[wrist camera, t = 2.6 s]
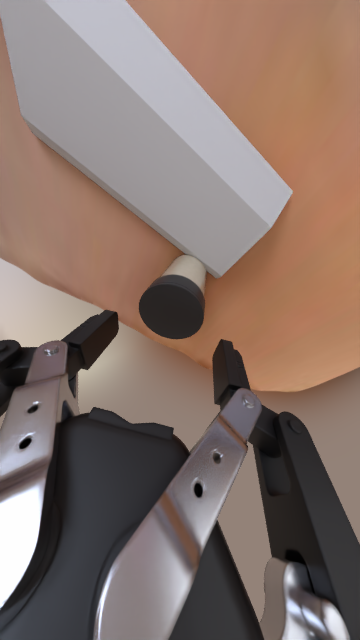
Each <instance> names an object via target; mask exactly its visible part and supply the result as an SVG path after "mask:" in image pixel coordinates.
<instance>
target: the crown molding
mask: <svg viewBox="0 0 360 640" xmlns="http://www.w3.org/2000/svg"><path fill="white" fill-rule="evenodd" d="M0 15H1V20H2V25H3V30H4V35H5V40H6V44H7V49H8V54H9V59H10V64H11V68H12V73H13V78H14V83H15V88H16V93H17V97H18V102H19V107H20V112H21V116H22V117H23V119H24V121H25V122H26V124H27V125H28V127H29V128H30V130H31V132H32V133H33V134H34V135H35V136H37V137H38V138H39V139H41V140H42V141H43V142H44V143H46V144H47V145H48V146H49V147H51V148H52V149H53V150H54V151H56V152H57V153H58V154H60V155H61V156H62V157H63V158H65V159H66V160H67V161H68V162H70V163H71V164H72V165H73V166H75V167H76V168H77V169H79V170H80V171H81V172H82V173H84V174H85V175H86V176H87V177H89V178H90V179H91V180H92V181H94V182H95V183H96V184H97V185H99V186H100V187H101V188H103V189H104V190H105V191H106V192H108V193H109V194H110V195H111V196H113V197H114V198H115V199H116V200H118V201H119V202H120V203H122V204H123V205H124V206H125V207H127V208H128V209H129V210H130V211H132V212H133V213H134V214H135V215H137V216H138V217H139V218H141V219H142V220H143V221H144V222H146V223H147V224H148V225H149V226H151V227H152V228H153V229H154V230H156V231H157V232H158V233H160V234H161V235H162V236H163V237H165V238H166V239H167V240H168V241H170V242H171V243H172V244H173V245H175V246H176V247H177V248H179V249H180V250H181V251H182V252H184V253H185V254H186V255H191V256H193V257H195V258H197V259H198V260H199V261H201V262H202V263H203V265H204V266H205V268H206V271H208V272H209V273H210V274H211V275H213V276H214V277H215V278H219V277H221V276H222V275H223V274H224V273H225V272H226V271H227V270H228V269H229V268H230V267H232V266H233V265H234V264H235V263H236V262H237V261H238V260H239V259H240V258H241V257H242V256H243V255H244V254H245V253H246V252H247V251H248V250H249V249H250V248H251V247H252V246H253V245H254V244H255V243H256V242H257V241H258V240H259V239H260V238H261V237H262V236H263V235H264V234H265V233H266V232H268V231H269V230H270V229H271V227H272V226H273V224H274V223H275V221H276V219H277V218H278V216H279V214H280V213H281V211H282V209H283V208H284V206H285V204H286V203H287V201H288V200H289V198H290V196H291V195H292V193H293V191H292V190H291V189H290V188H289V186H288V185H287V184H286V183H285V182H284V181H283V180H282V178H281V177H280V176H279V175H278V174H277V173H276V172H275V170H274V169H273V168H272V167H271V166H270V165H269V164H268V162H267V161H266V160H265V159H264V158H263V157H262V156H261V155H260V153H259V152H258V151H257V150H256V149H255V148H254V147H253V145H252V144H251V143H250V142H249V141H248V140H247V139H246V137H245V136H244V135H243V134H242V133H241V132H240V131H239V129H238V128H237V127H236V126H235V125H234V124H233V123H232V122H231V120H230V119H229V118H228V117H227V116H226V115H225V114H224V112H223V111H222V110H221V109H220V108H219V107H218V106H217V104H216V103H215V102H214V101H213V100H212V99H211V98H210V97H209V95H208V94H207V93H206V92H205V91H204V90H203V89H202V87H201V86H200V85H199V84H198V83H197V82H196V81H195V79H194V78H193V77H192V76H191V75H190V74H189V73H188V71H187V70H186V69H185V68H184V67H183V66H182V65H181V64H180V62H179V61H178V60H177V59H176V58H175V57H174V56H173V54H172V53H171V52H170V51H169V50H168V49H167V48H166V46H165V45H164V44H163V43H162V42H161V41H160V40H159V38H158V37H157V36H156V35H155V34H154V33H153V32H152V31H151V29H150V28H149V27H148V26H147V25H146V24H145V23H144V21H143V20H142V19H141V18H140V17H139V16H138V15H137V13H136V12H135V11H134V10H133V9H132V8H131V7H130V5H129V4H128V3H127V2H126V1H125V0H0Z"/></svg>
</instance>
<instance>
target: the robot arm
mask: <svg viewBox="0 0 360 640" xmlns="http://www.w3.org/2000/svg"><path fill="white" fill-rule="evenodd" d="M118 329H119V325H118V314H117V312H114V311H110V310H105V311H103V312H102V313H101V314H100V315H98V314H97V315H95V316H92V317H90V318H89V319H87V320H86V321H85V322H84V323H82V324H81V325H80V326H79V327H77V328H76V329H75V330H73V331H72V332H71V333H70V334H68V335H67V336H66V337H65V338H63V339H62V340H61V341H59V340H58V341H51V342H47V343H44V344H42V345H41V346H39V347H21V346H20V344H19V343H18V342H17V341H15V340H2V341H0V416H1V415H3V413H4V412H6V411H7V412H6V415H5V418H4V420H3V424H2V426H1V429H0V640H360V544H359V542H358V540H357V538H356V536H355V533H354V531H353V529H352V527H351V524H350V522H349V520H348V518H347V516H346V514H345V511H344V509H343V507H342V504H341V502H340V500H339V498H338V496H337V494H336V491H335V489H334V487H333V485H332V482H331V480H330V478H329V476H328V474H327V471H326V469H325V467H324V465H323V463H322V461H321V458H320V456H319V454H318V452H317V450H316V447H315V445H314V443H313V441H312V438H311V436H310V434H309V432H308V430H307V428H306V427H305V425H304V424H303V423H302V422H301V421H300V420H299V419H298V418H297V417H296V416H294V415H293V414H291V413H289V412H281V413H280V414H277V413H275V412H273V411H272V410H270V409H268V408H266V407H265V406H263V405H262V404H261V402H260V400H259V398H258V397H257V396H256V395H255V394H254V393H253V392H252V391H251V389H250V386H249V382H248V378H247V375H246V371H245V367H244V364H243V360H242V356H241V355H240V353H239V352H238V351H237V350H234V348H233V344H232V342H231V341H227V340H223V339H221V340H220V342H219V344H218V346H217V348H216V350H215V352H214V354H213V360H212V361H213V382H214V402H215V404H217V405H220V409H221V411H220V412H219V413H218V415H217V416H216V418H215V419H214V420H213V421H212V423H211V424H210V425H209V427H208V428H207V429H206V431H205V432H204V433H203V435H202V436H201V437H200V439H199V440H198V441H197V442H196V444H195V445H194V446H193V448H192V449H191V451H190V452H189V450H188V449H187V447H186V446H185V444H184V443H183V442H182V441H181V440H180V439H179V438H178V437H177V436H175V435H174V434H173V430H174V428H172V427H168V426H165V425H160V424H157V423H138V424H132V423H129V422H128V421H126V420H125V419H123V418H122V417H120V416H119V415H117V414H116V413H114V412H112V411H108V410H104V409H100V408H96V407H93V409H92V410H91V412H90V413H84V414H80V413H79V407H78V371H79V370H80V369H81V368H82V369H85V370H88V369H89V368H90V367H91V366H92V364H93V363H94V362H95V361H96V360H97V358H98V357H99V356H100V355H101V354H102V352H103V351H104V350H105V349H106V347H107V346H108V345H109V344H110V343H111V341H112V340H113V339H114V337H115V336H116V335H117V333H118ZM247 441H248V442H250V443H251V444H253V448H254V454H255V460H256V466H257V472H258V478H259V484H260V489H261V495H262V501H263V507H264V513H265V519H266V525H267V531H268V536H269V543H270V548H271V554H272V558H271V559H270V560H269V561H268V562H267V565H266V568H265V574H264V591H265V608H264V613H263V617H262V619H261V621H260V623H259V622H258V619H257V617H256V614H255V611H254V609H253V606H252V604H251V601H250V599H249V597H248V594H247V592H246V589H245V587H244V584H243V582H242V580H241V577H240V574H239V572H238V570H237V567H236V564H235V562H234V559H233V557H232V555H231V552H230V550H229V547H228V545H227V542H226V540H225V537H224V535H223V532H222V530H221V527H220V525H219V522H218V520H217V518H218V516H219V514H220V511H221V509H222V507H223V505H224V503H225V500H226V498H227V496H228V494H229V491H230V489H231V487H232V485H233V483H234V480H235V478H236V476H237V474H238V471H239V469H240V467H241V465H242V462H243V460H244V458H245V456H246V453H247V450H248V446H247Z"/></svg>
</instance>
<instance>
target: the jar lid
mask: <svg viewBox="0 0 360 640" xmlns="http://www.w3.org/2000/svg"><path fill="white" fill-rule="evenodd" d="M204 309H205V299H204V295H203V293H202V291H201V289H200V288H199V287H198V286H197V284H196V283H194V282H193V281H192V280H190V279H188V278H186V277H184V276H181V275H174V274H171V275H165V276H162V277H160V278H158V279H156V280H155V281H154V282H153V283H152V284H151V285H150V287H149V288H148V289H147V290H146V291H145V292H144V293H143V295H142V297H141V299H140V302H139V312H140V315H141V318H142V320H143V321H144V323H145V324H146V325H147V327H148V328H150V329H151V330H152V331H153V332H155V333H156V334H158V335H160V336H163V337H166V338H170V339H183V338H187V337H190V336H192V335H194V334H195V333H196V332H197V331H198V330H199V329H200V327H201V326H202V323H203V319H204Z"/></svg>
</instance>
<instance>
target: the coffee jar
mask: <svg viewBox="0 0 360 640" xmlns="http://www.w3.org/2000/svg"><path fill="white" fill-rule="evenodd" d="M171 274H174V275H181V276H184V277H186V278H188V279H190V280H192V281H193V282H194V283H196V284H197V286H198V287H199V288H200V289H201V291H202V293H203V295H205V287H206V278H207V271H206V268H205V266H204V265H203V263H202V262H201V261H199V260H198V259H197V258H195V257H193V256H191V255H181V256H179V257H177V258H176V259H174V261H173V262H172V263H171V264H170V265H169V266H168V268H167V269H166V270H165V271H164V272H163V274H162V275H161V276H160V277H162V276H165V275H171ZM160 277H159V278H160Z"/></svg>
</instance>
